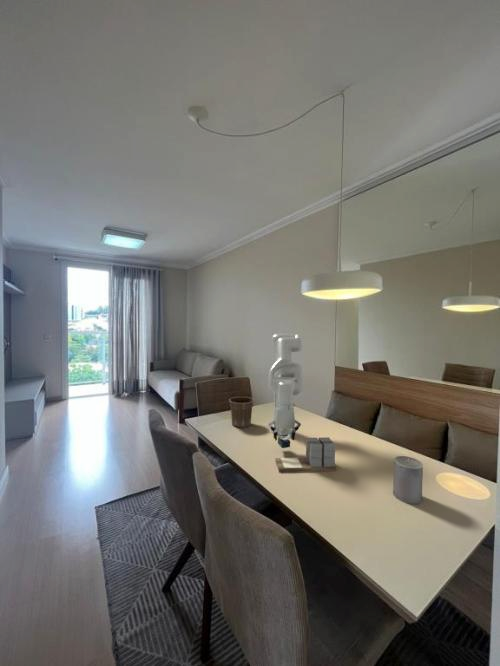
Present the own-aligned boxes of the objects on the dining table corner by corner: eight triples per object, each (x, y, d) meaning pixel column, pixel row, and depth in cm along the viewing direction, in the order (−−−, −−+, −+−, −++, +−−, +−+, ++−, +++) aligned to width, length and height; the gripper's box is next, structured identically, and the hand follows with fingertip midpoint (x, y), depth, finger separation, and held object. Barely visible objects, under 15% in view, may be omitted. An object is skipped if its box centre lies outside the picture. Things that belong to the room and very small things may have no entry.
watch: (293, 446, 144) (294, 425, 144) (279, 448, 142) (279, 427, 141) (288, 441, 150) (289, 421, 149) (274, 443, 147) (275, 423, 146)
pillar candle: (396, 486, 116) (397, 450, 115) (424, 495, 110) (425, 457, 109) (390, 497, 108) (391, 459, 108) (419, 508, 102) (421, 467, 101)
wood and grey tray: (275, 461, 135) (275, 437, 135) (328, 460, 137) (329, 436, 137) (279, 472, 125) (279, 446, 125) (336, 470, 127) (337, 445, 127)
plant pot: (225, 421, 188) (225, 397, 187) (247, 418, 195) (247, 395, 194) (234, 430, 173) (234, 404, 173) (257, 426, 180) (258, 401, 179)
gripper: (300, 403, 149) (299, 435, 150) (267, 403, 147) (266, 436, 148) (303, 408, 141) (302, 442, 142) (269, 408, 140) (268, 442, 141)
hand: (284, 439), depth 145 cm, fingers closed on watch, 8 cm apart
